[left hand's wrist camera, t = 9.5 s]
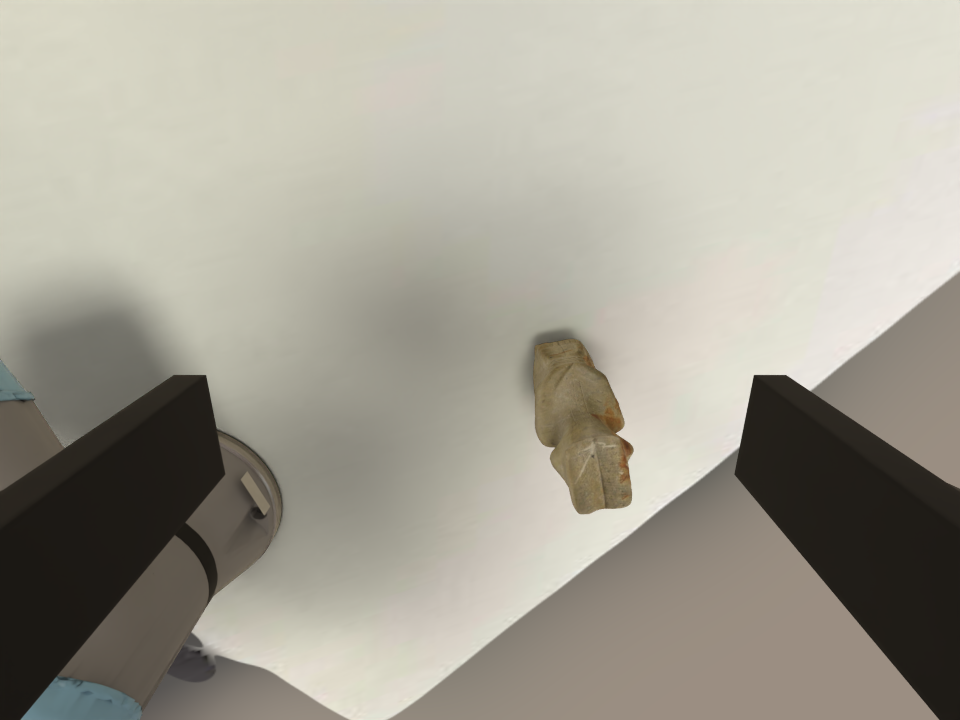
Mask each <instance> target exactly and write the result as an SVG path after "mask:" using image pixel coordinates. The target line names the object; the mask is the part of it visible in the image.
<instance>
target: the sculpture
mask: <svg viewBox="0 0 960 720" xmlns="http://www.w3.org/2000/svg"><path fill="white" fill-rule="evenodd" d="M533 382H534V392H535V429H536V433H537V436H538V438H539V440H540V441H541V443H542V444H543V445H545V446H547V447H556V448H555V449H554V450H553V451H552V453H551V455H550V460H551V463H552V465H553V467H554V468H555V469H556V471H557V472H558V473H559V474H560V475H561V477H562V478H563V479H564V481H565V482H566V484H567V485H568V487H569V491H570V495H571V500H572V503H573V505H574V508H575V509H576V511H577V512H578V513H579V514H590V513H592V512H594V511H596V510H599V509H616V508H623V507H627V506H628V505H630V504H631V501H632V489H631V481H630V475H629V467H628V460H629V458H630V457H631V455H632V454H633V447H632V445H631V444H630V443H629V442H627V441H626V440H624V439H623V438H621V437H620V436H618V435H617V434H616V433H617V432H618V431H620V430H621V429H622V428H623V427H624V418H623V416H622V413H621V410H620V407H619V403H618V401H617V399H616V398H615V396H614V394H613V391H612V389H611V387H610V385H609V382H608V380H607V378H606V376H605V375H604V374H603V373H601V372H600V371H598V370H597V369H595V366H594V364H593V361H592V359H591V357H590V355H589V354H588V352H587V350H586V349H585V347H584V346H583V344H582V343H581V342H580V341H579V340H575V339H566V340H562V341H557V342H552V343H543V344H539V345H536V346H535V360H534V368H533Z"/></svg>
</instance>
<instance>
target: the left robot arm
mask: <svg viewBox="0 0 960 720" xmlns="http://www.w3.org/2000/svg"><path fill="white" fill-rule="evenodd" d="M33 400H35V398H34V396H33V394H32V393H31V392H28V391H25V390H24V388H23V387H22V386H21V385H20V383H19V382H18V381H17V380H16V378H15V377H14V376H13V374H12V373H11V372H10V371H9V369H8V368H7V367H6V366H5V364H4V363H3V362H2V360H1V359H0V720H140V717H141V716H142V712H143V710H144V709H145V707H146V705H147V704H148V702H149V700H150V699H151V697H152V696H153V694H154V692H155V691H156V689H157V687H158V686H159V684H160V682H161V681H162V679H163V678H164V676H165V674H166V673H167V671H168V669H169V668H170V666H171V664H172V663H173V661H174V659H175V658H176V656H177V654H178V653H179V651H180V649H181V648H182V646H183V645H184V643H185V641H186V640H187V638H188V636H189V635H190V633H191V631H192V630H193V628H194V626H195V625H196V623H197V621H198V620H199V618H200V617H201V615H202V613H203V612H204V610H205V608H206V607H207V605H208V603H209V602H210V600H211V599H212V597H213V596H214V595H215V594H216V593H218V592H219V591H220V590H221V589H223V588H224V587H225V586H226V585H228V584H229V583H230V582H231V581H233V580H234V579H235V578H236V577H238V576H239V575H240V574H241V573H243V572H244V571H245V570H246V569H248V568H249V567H250V566H251V565H253V564H254V563H255V562H256V561H257V560H258V559H259V558H260V557H261V556H262V555H263V554H264V552H265V551H266V549H267V548H268V546H269V544H270V543H271V541H272V539H273V537H274V536H275V534H276V532H277V529H278V527H279V524H280V520H281V512H282V505H281V497H280V493H279V489H278V487H277V484H276V482H275V480H274V478H273V476H272V474H271V473H270V471H269V469H268V468H267V467H266V465H265V464H264V463H263V462H262V461H261V459H260V458H259V457H258V456H257V455H256V454H255V453H253V452H252V451H251V450H250V449H249V448H247V447H246V446H245V445H243V444H242V443H240V442H239V441H237V440H235V439H234V438H232V437H230V436H228V435H226V434H223V433H221V432H218V431H217V429H216V424H215V418H214V413H213V408H212V403H211V398H210V393H209V388H208V383H207V378H206V375H173V376H172V377H170V378H169V379H167V380H166V381H164V382H163V383H162V384H160V385H159V386H157V387H156V388H154V389H153V390H151V391H150V392H148V393H147V394H145V395H144V396H142V397H141V398H139V399H138V400H136V401H135V402H133V403H132V404H130V405H129V406H127V407H126V408H124V409H123V410H121V411H120V412H118V413H117V414H115V415H114V416H112V417H111V418H109V419H108V420H106V421H105V422H103V423H102V424H100V425H99V426H97V427H96V428H94V429H93V430H91V431H90V432H89V433H87V434H86V435H84V436H83V437H81V438H80V439H78V440H77V441H75V442H74V443H72V444H71V445H69V446H68V447H66V448H65V449H64V447H63V446H62V444H61V443H60V442H59V440H58V439H57V437H56V436H55V434H54V433H53V431H52V430H51V428H50V427H49V425H48V423H47V422H46V420H45V419H44V417H43V416H42V414H41V413H40V411H39V410H38V408H37V407H36V405H35V403H34V402H33ZM735 476H736V477H737V478H738V479H739V480H740V482H741V483H742V484H743V485H744V486H745V488H746V489H747V490H748V491H749V492H750V494H751V495H752V496H753V497H754V498H755V500H756V501H757V502H758V503H759V504H760V506H761V507H762V508H763V509H764V510H765V512H766V513H767V514H768V515H769V516H770V518H771V519H772V520H773V521H774V522H775V524H776V525H777V526H778V527H779V528H780V529H781V531H782V532H783V533H784V534H785V535H786V537H787V538H788V539H789V540H790V541H791V543H792V544H793V545H794V546H795V547H796V549H797V550H798V551H799V552H800V553H801V555H802V556H803V557H804V558H805V559H806V561H807V562H808V563H809V564H810V565H811V567H812V568H813V569H814V570H815V571H816V573H817V574H818V575H819V576H820V577H821V579H822V580H823V581H824V582H825V583H826V585H827V586H828V587H829V588H830V589H831V591H832V592H833V593H834V594H835V595H836V597H837V598H838V599H839V600H840V601H841V602H842V604H843V605H844V606H845V607H846V609H847V610H848V611H849V612H850V613H851V614H852V616H853V617H854V618H855V619H856V620H857V622H858V623H859V624H860V625H861V626H862V628H863V629H864V630H865V631H866V632H867V634H868V635H869V636H870V637H871V638H872V640H873V641H874V642H875V643H876V644H877V646H878V647H879V648H880V649H881V650H882V652H883V653H884V654H885V655H886V656H887V658H888V659H889V660H890V661H891V662H892V664H893V665H894V666H895V667H896V668H897V670H898V671H899V672H900V673H901V674H902V675H903V677H904V678H905V679H906V680H907V682H908V683H909V684H910V685H911V686H912V688H913V689H914V690H915V691H916V692H917V694H918V695H919V696H920V697H921V698H922V699H923V701H924V702H925V703H926V704H927V705H928V707H929V708H930V709H931V710H932V711H933V713H934V714H935V715H936V716H937V717H938V719H939V720H960V489H959V488H957V487H955V486H953V485H950V484H948V483H946V482H944V481H943V480H942V479H940V478H939V477H937V476H936V475H934V474H933V473H931V472H930V471H928V470H927V469H925V468H924V467H922V466H921V465H919V464H918V463H916V462H915V461H913V460H912V459H910V458H909V457H907V456H906V455H904V454H903V453H901V452H900V451H898V450H897V449H895V448H894V447H892V446H891V445H889V444H888V443H886V442H885V441H883V440H882V439H880V438H879V437H877V436H876V435H874V434H873V433H871V432H870V431H869V430H867V429H866V428H864V427H863V426H861V425H860V424H858V423H857V422H855V421H854V420H852V419H851V418H849V417H848V416H846V415H845V414H843V413H842V412H840V411H839V410H837V409H836V408H834V407H833V406H831V405H830V404H828V403H827V402H825V401H824V400H822V399H821V398H819V397H818V396H816V395H815V394H813V393H812V392H810V391H809V390H807V389H806V388H804V387H803V386H801V385H800V384H798V383H797V382H796V381H794V380H793V379H791V378H790V377H788V376H787V375H754V378H753V383H752V388H751V393H750V398H749V403H748V408H747V413H746V418H745V424H744V429H743V434H742V439H741V444H740V449H739V454H738V459H737V464H736V469H735Z"/></svg>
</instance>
